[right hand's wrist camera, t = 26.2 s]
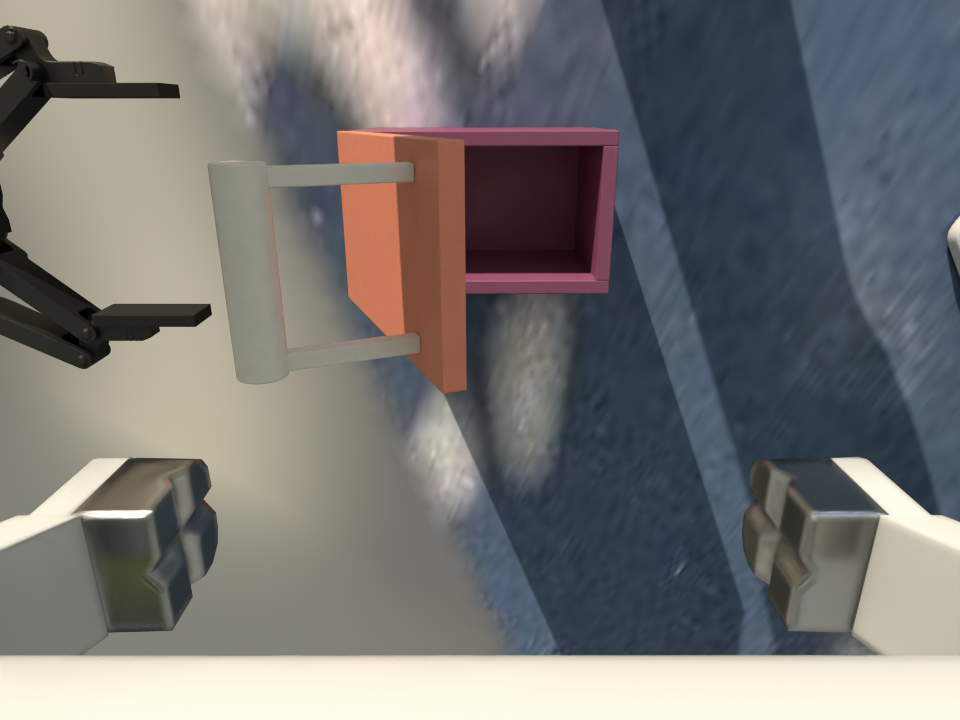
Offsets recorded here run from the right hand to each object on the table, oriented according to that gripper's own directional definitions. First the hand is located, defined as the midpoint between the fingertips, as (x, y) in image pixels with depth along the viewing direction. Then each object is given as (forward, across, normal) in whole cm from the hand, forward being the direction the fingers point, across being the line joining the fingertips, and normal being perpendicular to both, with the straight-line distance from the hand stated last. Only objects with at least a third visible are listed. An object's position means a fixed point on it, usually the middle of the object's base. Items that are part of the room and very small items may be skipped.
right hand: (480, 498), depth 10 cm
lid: (+22, +4, 0) cm, 23 cm away
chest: (+40, 0, 0) cm, 41 cm away
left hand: (+33, +18, 0) cm, 38 cm away
